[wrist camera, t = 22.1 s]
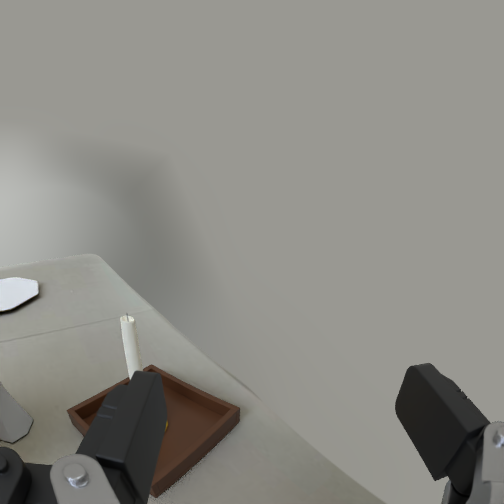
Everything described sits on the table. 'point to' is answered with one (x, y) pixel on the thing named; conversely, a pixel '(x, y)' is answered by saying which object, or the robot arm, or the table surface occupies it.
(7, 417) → the flask
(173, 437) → the tray
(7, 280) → the plate
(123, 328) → the candle
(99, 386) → the table surface
